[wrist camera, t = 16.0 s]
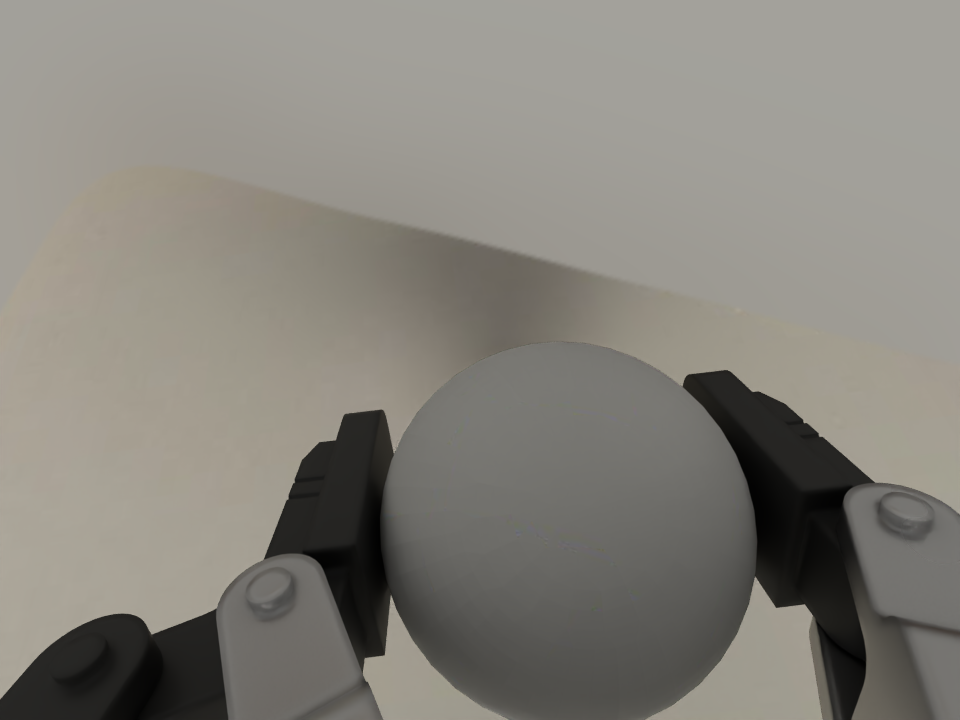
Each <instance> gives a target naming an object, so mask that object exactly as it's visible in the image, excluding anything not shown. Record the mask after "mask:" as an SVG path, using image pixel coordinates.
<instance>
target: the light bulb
mask: <svg viewBox="0 0 960 720" xmlns="http://www.w3.org/2000/svg"><path fill="white" fill-rule="evenodd" d="M380 539H381V553H382V559H383V564H384V570H385V575H386V580H387V583H388V586H389V589H390V592H391V595H392V598H393V601H394V604H395V606H396V609H397V611H398V613H399V615H400V617H401V619H402V621H403V623H404V625H405V627H406V628H407V630H408V632H409V634H410V636H411V638H412V640H413V641H414V642H415V644H416V645H417V646H418V648H419V649H420V650H421V652H422V653H423V654H424V656H425V657H426V658H427V660H428V661H429V662H430V664H431V665H432V666H433V667H434V668H435V669H436V670H437V671H438V672H439V673H440V674H441V675H442V676H443V677H444V678H445V679H446V680H447V681H448V682H450V683H451V684H452V685H453V686H454V687H455V688H456V689H457V690H459V691H460V692H462V693H463V694H464V695H466V696H467V697H469V698H470V699H472V700H473V701H475V702H476V703H477V704H479V705H480V706H482V707H483V708H486V709H488V710H490V711H492V712H494V713H496V714H498V715H501V716H503V717H505V718H507V719H509V720H645V719H647V718H649V717H651V716H652V715H654V714H656V713H658V712H660V711H662V710H664V709H666V708H668V707H670V706H672V705H673V704H675V703H676V702H677V701H679V700H680V699H681V698H682V697H684V696H685V695H686V694H688V693H689V692H690V691H691V690H693V689H694V688H695V687H697V686H698V685H699V684H700V683H701V682H702V681H703V680H704V679H705V677H706V676H707V675H708V674H709V673H710V672H711V671H712V670H713V668H714V667H715V666H716V665H717V664H718V663H719V662H720V661H721V659H722V657H723V656H724V654H725V652H726V651H727V649H728V648H729V646H730V644H731V643H732V641H733V639H734V638H735V636H736V634H737V633H738V630H739V627H740V625H741V622H742V620H743V617H744V615H745V612H746V610H747V607H748V605H749V601H750V596H751V592H752V587H753V582H754V578H755V573H756V556H757V533H756V523H755V513H754V508H753V504H752V500H751V496H750V492H749V488H748V484H747V480H746V478H745V476H744V473H743V471H742V468H741V466H740V463H739V461H738V459H737V456H736V454H735V452H734V450H733V449H732V447H731V445H730V444H729V442H728V440H727V438H726V437H725V435H724V433H723V432H722V430H721V428H720V427H719V426H718V425H717V423H716V422H715V421H714V420H713V418H712V417H711V416H710V415H709V413H708V412H707V411H706V410H705V408H704V407H703V406H702V405H701V404H700V403H699V402H698V401H697V400H696V399H695V398H694V397H693V396H692V395H691V394H689V393H688V392H687V391H686V390H685V389H684V388H683V387H682V386H681V385H679V384H678V383H676V382H675V381H674V380H672V379H671V378H669V377H668V376H667V375H665V374H664V373H663V372H661V371H660V370H658V369H656V368H654V367H652V366H650V365H648V364H646V363H645V362H643V361H641V360H639V359H637V358H635V357H632V356H630V355H627V354H624V353H621V352H618V351H616V350H613V349H610V348H605V347H601V346H596V345H591V344H586V343H574V342H547V343H536V344H528V345H524V346H520V347H516V348H512V349H508V350H504V351H501V352H499V353H496V354H494V355H492V356H489V357H487V358H484V359H482V360H480V361H478V362H476V363H475V364H473V365H471V366H470V367H468V368H466V369H465V370H463V371H461V372H460V373H458V374H457V375H455V376H454V377H453V378H452V379H451V380H449V381H448V382H447V383H446V384H445V385H443V386H442V387H441V388H440V389H439V390H437V391H436V392H435V393H434V394H433V395H432V397H431V398H430V399H429V400H428V401H427V402H426V403H425V404H424V406H423V407H422V408H421V409H420V410H419V411H418V412H417V414H416V416H415V417H414V419H413V420H412V422H411V423H410V425H409V426H408V428H407V430H406V431H405V433H404V434H403V436H402V438H401V440H400V443H399V445H398V447H397V449H396V452H395V454H394V456H393V458H392V460H391V464H390V467H389V471H388V475H387V478H386V482H385V485H384V489H383V497H382V505H381V514H380Z"/></svg>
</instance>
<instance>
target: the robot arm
mask: <svg viewBox="0 0 960 720" xmlns="http://www.w3.org/2000/svg"><path fill="white" fill-rule="evenodd" d="M683 388H684V389H685V390H686V391H687V392H688V393H689V394H691V395H692V396H693V397H694V398H695V399H696V400H697V401H698V402H699V403H700V404H701V405H702V406H703V407H704V408H705V410H706V411H707V412H708V413H709V415H710V416H711V417H712V418H713V420H714V421H715V422H716V423H717V425H718V426H719V427H720V428H721V430H722V432H723V433H724V435H725V437H726V438H727V440H728V442H729V444H730V445H731V447H732V449H733V450H734V452H735V454H736V456H737V459H738V461H739V463H740V466H741V468H742V471H743V473H744V476H745V478H746V480H747V484H748V488H749V492H750V496H751V500H752V504H753V508H754V513H755V523H756V533H757V556H756V573H755V577H756V578H757V580H758V581H759V583H760V584H761V586H762V587H763V589H764V590H765V592H766V593H767V595H768V596H769V598H770V599H771V601H772V602H773V604H774V605H775V607H776V608H779V607H787V606H795V605H803V604H805V605H806V606H807V608H808V609H809V611H810V612H811V613H812V615H813V617H812V621H811V625H810V629H809V638H810V644H811V650H812V656H813V662H814V668H815V675H816V681H817V687H818V693H819V699H820V705H821V711H822V718H823V720H960V515H959V514H958V513H957V512H956V511H955V510H953V509H952V508H951V507H949V506H948V505H946V504H945V503H943V502H942V501H940V500H938V499H936V498H934V497H932V496H930V495H928V494H925V493H923V492H920V491H917V490H915V489H912V488H908V487H904V486H900V485H895V484H888V483H875V482H874V481H872V480H871V479H870V478H869V477H868V476H867V475H866V474H864V473H863V472H862V471H861V470H860V469H859V468H858V467H856V466H855V465H854V464H853V463H852V462H851V461H850V460H848V459H847V458H846V457H845V456H844V455H843V454H842V453H840V452H839V451H838V450H837V449H836V448H835V447H834V446H832V445H831V444H830V443H829V442H828V441H827V440H826V439H824V438H823V437H819V433H818V432H816V431H815V430H814V429H813V428H812V427H811V426H810V425H808V424H807V423H804V422H803V419H802V418H800V417H799V416H798V415H797V414H796V413H795V412H794V411H792V410H791V409H790V408H789V407H788V406H787V405H786V404H784V403H782V402H780V401H778V400H776V399H774V398H771V397H769V396H767V395H765V394H763V393H761V392H752V391H751V390H750V389H749V388H748V387H746V386H745V385H744V384H743V383H742V382H741V381H740V380H739V379H738V378H737V377H736V376H735V375H734V374H732V373H731V372H730V371H728V370H723V371H714V372H706V373H697V374H689V375H687V376H686V378H685V380H684V383H683ZM393 456H394V453H393V448H392V443H391V438H390V433H389V428H388V424H387V419H386V415H385V413H384V411H383V410H374V411H366V412H357V413H349V414H345V415H344V416H343V419H342V422H341V426H340V429H339V432H338V435H337V439H336V441H327V442H319V443H318V444H317V445H316V446H315V447H314V448H313V449H312V450H311V452H310V453H309V454H308V455H307V456H306V457H305V458H304V459H303V460H302V462H301V464H300V467H299V470H298V472H297V475H296V477H295V483H293V485H292V488H291V490H290V493H289V500H287V501H286V503H285V506H284V509H283V511H282V514H281V516H280V519H279V522H278V524H277V527H276V529H275V532H274V535H273V537H272V540H271V542H270V545H269V547H268V550H267V553H266V555H265V558H264V560H263V561H261V562H258V563H256V564H255V565H253V566H251V567H250V568H248V569H246V570H245V571H244V572H243V573H241V574H240V575H239V576H238V577H237V578H236V579H235V580H234V581H232V583H231V584H230V585H229V586H228V587H227V589H226V590H225V592H224V593H223V595H222V596H221V599H220V601H219V603H218V607H217V609H215V610H213V611H211V612H209V613H207V614H204V615H202V616H199V617H197V618H194V619H192V620H189V621H186V622H184V623H181V624H178V625H176V626H173V627H171V628H168V629H165V630H163V631H160V632H158V633H155V634H152V635H151V633H150V631H149V629H148V627H147V625H146V624H145V623H144V621H143V620H142V619H140V618H139V617H137V616H134V615H131V614H113V615H108V616H104V617H100V618H97V619H94V620H92V621H90V622H87V623H85V624H83V625H81V626H79V627H77V628H75V629H73V630H72V631H70V632H68V633H67V634H65V635H64V636H62V637H61V638H59V639H58V640H57V641H55V642H54V643H53V644H51V645H50V646H49V647H48V648H47V649H46V650H45V651H43V652H42V653H41V654H40V655H39V656H38V657H37V658H36V659H35V660H34V662H33V663H32V664H31V665H30V666H29V667H28V668H27V669H26V671H25V672H24V673H23V674H22V675H21V676H20V677H19V679H18V680H17V681H16V682H15V683H14V684H13V686H12V687H11V688H10V689H9V690H8V691H7V692H6V694H5V695H4V696H3V697H2V698H1V699H0V720H383V718H382V716H381V713H380V711H379V708H378V705H377V703H376V700H375V698H374V695H373V693H372V690H371V688H370V686H369V684H368V682H366V681H365V679H364V676H363V667H364V659H365V658H368V657H376V656H384V655H385V646H386V636H387V626H388V616H389V606H390V596H391V592H390V589H389V586H388V583H387V580H386V575H385V570H384V564H383V559H382V553H381V539H380V514H381V505H382V497H383V489H384V485H385V482H386V478H387V475H388V471H389V467H390V464H391V460H392V458H393Z"/></svg>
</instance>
